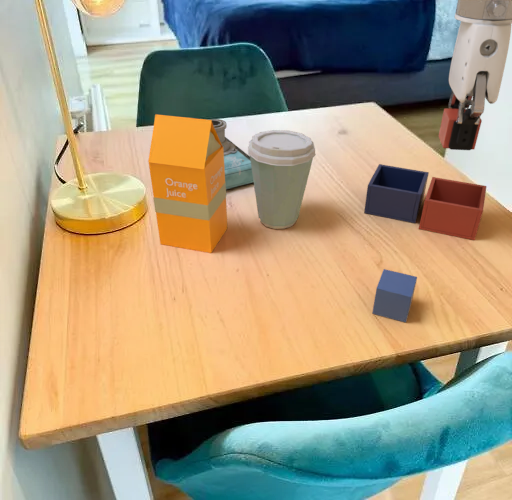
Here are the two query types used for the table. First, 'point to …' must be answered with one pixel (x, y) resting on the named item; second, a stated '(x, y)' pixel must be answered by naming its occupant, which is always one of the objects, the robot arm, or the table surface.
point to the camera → (233, 159)
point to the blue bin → (396, 193)
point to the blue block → (394, 295)
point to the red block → (447, 126)
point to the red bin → (453, 208)
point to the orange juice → (188, 182)
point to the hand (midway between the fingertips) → (456, 140)
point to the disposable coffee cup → (280, 174)
